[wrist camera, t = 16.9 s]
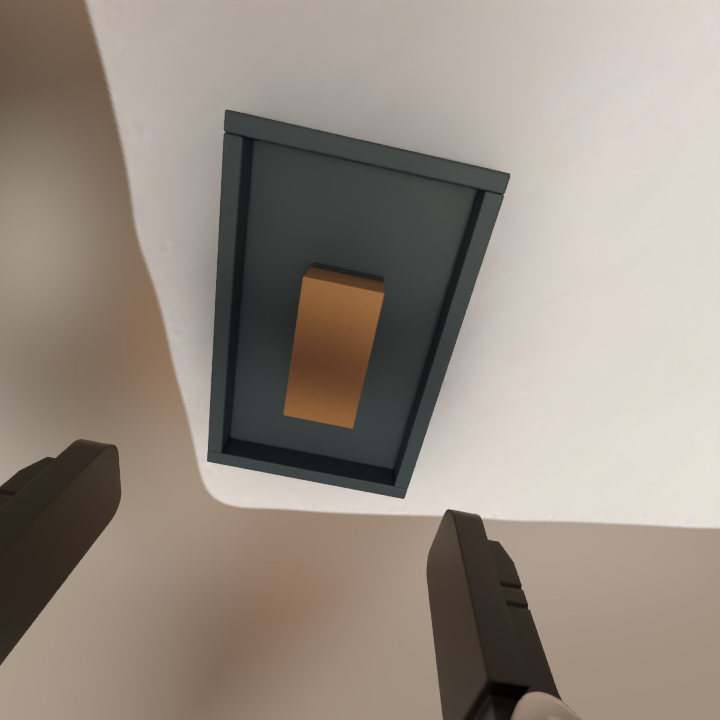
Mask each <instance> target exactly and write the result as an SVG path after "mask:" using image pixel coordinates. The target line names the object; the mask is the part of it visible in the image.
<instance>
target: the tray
mask: <svg viewBox="0 0 720 720" xmlns="http://www.w3.org/2000/svg"><path fill="white" fill-rule="evenodd" d="M224 131H225V132H226V133H224V140H223V160H222V180H221V200H220V220H219V239H218V259H217V279H216V299H215V319H214V339H213V359H212V379H211V399H210V419H209V438H208V456H207V461H208V462H213V463H218V464H223V465H228V466H234V467H239V468H244V469H249V470H255V471H260V472H265V473H270V474H276V475H281V476H286V477H291V478H297V479H302V480H307V481H312V482H318V483H323V484H328V485H333V486H339V487H344V488H349V489H354V490H360V491H365V492H370V493H375V494H381V495H386V496H391V497H396V498H402V499H404V498H405V495H406V492H407V488H408V486H409V483H410V480H411V477H412V474H413V471H414V468H415V465H416V462H417V459H418V456H419V453H420V449H421V446H422V443H423V440H424V437H425V434H426V431H427V428H428V425H429V422H430V419H431V416H432V413H433V410H434V407H435V404H436V401H437V398H438V395H439V392H440V389H441V386H442V383H443V380H444V377H445V374H446V371H447V368H448V364H449V361H450V358H451V355H452V352H453V349H454V346H455V343H456V340H457V337H458V334H459V331H460V328H461V325H462V322H463V319H464V316H465V313H466V310H467V307H468V304H469V301H470V298H471V295H472V292H473V289H474V286H475V282H476V279H477V276H478V273H479V270H480V267H481V264H482V261H483V258H484V255H485V252H486V249H487V246H488V243H489V240H490V237H491V234H492V231H493V228H494V225H495V222H496V219H497V216H498V213H499V210H500V207H501V204H502V200H503V197H504V195H502V194H504V193H505V191H506V188H507V185H508V182H509V179H510V174H509V173H505V172H500V171H496V170H492V169H487V168H483V167H478V166H474V165H470V164H465V163H461V162H456V161H452V160H447V159H443V158H439V157H434V156H430V155H425V154H421V153H417V152H412V151H408V150H403V149H399V148H395V147H390V146H386V145H381V144H377V143H373V142H368V141H364V140H359V139H355V138H350V137H346V136H342V135H337V134H333V133H328V132H324V131H320V130H315V129H311V128H306V127H302V126H298V125H293V124H289V123H284V122H280V121H276V120H271V119H267V118H262V117H258V116H254V115H249V114H245V113H240V112H236V111H231V110H225V120H224ZM314 262H315V263H320V264H325V265H329V266H334V267H339V268H343V269H348V270H353V271H357V272H362V273H367V274H372V275H376V276H381V277H384V294H385V295H384V299H383V303H382V307H381V312H380V316H379V320H378V324H377V329H376V333H375V337H374V342H373V346H372V350H371V354H370V359H369V363H368V367H367V371H366V376H365V380H364V384H363V389H362V393H361V397H360V401H359V406H358V410H357V414H356V418H355V423H354V427H353V428H347V427H342V426H337V425H332V424H326V423H321V422H316V421H311V420H306V419H301V418H296V417H291V416H286V415H284V414H283V413H284V406H285V399H286V392H287V385H288V378H289V370H290V363H291V356H292V349H293V342H294V335H295V328H296V321H297V314H298V307H299V300H300V293H301V286H302V279H303V276H304V275H305V273H306V272H307V271H308V270H309V268H310V267H311V266H312V264H313V263H314Z"/></svg>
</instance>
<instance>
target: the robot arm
mask: <svg viewBox="0 0 720 720" xmlns="http://www.w3.org/2000/svg"><path fill="white" fill-rule="evenodd" d="M120 499H121V483H120V469H119V456H118V450H117V447H116V446H115V445H111V444H105V443H100V442H94V441H89V440H84V439H79V440H77V441H75V442H73V443H72V444H71V445H70V446H69V447H68V448H67V449H66V450H64V451H63V452H62V453H61V454H60V455H59V456H58V457H57V458H51V457H46V458H44V459H42V460H40V461H38V462H36V463H34V464H32V465H30V466H28V467H26V468H24V469H22V470H20V471H18V472H17V473H16V474H15V475H14V476H12V478H10V479H9V480H8V481H7V482H5V483H4V484H3V485H2V486H1V487H0V665H1V664H2V662H3V661H4V660H5V658H6V657H7V656H8V655H9V653H10V652H11V651H12V649H13V648H14V647H15V645H16V644H17V643H18V642H19V640H20V639H21V638H22V636H23V635H24V633H25V632H26V631H27V630H28V628H29V627H30V626H31V625H32V623H33V622H34V620H35V619H36V618H37V617H38V615H39V614H40V613H41V611H42V610H43V609H44V608H45V606H46V605H47V603H48V602H49V601H50V600H51V598H52V597H53V596H54V594H55V593H56V592H57V590H58V589H59V588H60V587H61V585H62V584H63V583H64V581H65V580H66V579H67V577H68V576H69V575H70V573H71V572H72V571H73V569H74V568H75V567H76V565H77V564H78V563H79V562H80V560H81V559H82V558H83V556H84V555H85V554H86V553H87V551H88V550H89V549H90V547H91V546H92V545H93V543H94V542H95V541H96V539H97V538H98V537H99V536H100V534H101V533H102V532H103V530H104V529H105V528H106V526H107V525H108V524H109V522H110V521H111V520H112V518H113V516H114V515H115V513H116V511H117V509H118V506H119V503H120ZM427 584H428V592H429V601H430V610H431V618H432V627H433V636H434V645H435V654H436V663H437V671H438V680H439V688H440V698H441V706H442V715H443V720H581V719H580V718H579V717H578V716H577V714H576V713H575V712H574V711H573V710H572V709H571V708H570V707H569V706H568V705H566V704H565V703H564V702H563V701H562V700H561V698H560V696H559V693H558V691H557V688H556V685H555V683H554V680H553V677H552V674H551V671H550V668H549V665H548V662H547V659H546V656H545V653H544V650H543V647H542V644H541V641H540V638H539V635H538V632H537V629H536V626H535V624H534V621H533V618H532V615H531V612H530V610H528V603H527V600H526V597H525V594H524V591H523V590H522V589H521V586H522V585H521V583H520V579H519V576H518V574H517V571H516V568H515V565H514V562H513V561H512V559H511V558H510V557H509V555H508V554H507V552H506V551H505V550H504V548H503V547H502V546H501V544H500V543H499V542H497V541H492V540H488V539H487V536H486V532H485V529H484V525H483V522H482V519H481V517H480V516H479V515H477V514H471V513H466V512H461V511H455V510H450V509H448V510H447V511H446V512H445V514H444V516H443V519H442V521H441V524H440V526H439V529H438V531H437V534H436V536H435V539H434V541H433V543H432V546H431V548H430V551H429V555H428V560H427Z"/></svg>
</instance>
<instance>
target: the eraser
mask: <svg viewBox="0 0 720 720" xmlns="http://www.w3.org/2000/svg"><path fill="white" fill-rule="evenodd" d="M384 295H385V294H384V277H381V276H376V275H372V274H367V273H362V272H357V271H353V270H348V269H343V268H339V267H334V266H329V265H325V264H320V263H315V262H314V263H313V264H312V266H311V267H310V268H309V270H308V271H307V272H306V273H305V275H304V276H303V279H302V286H301V293H300V300H299V307H298V314H297V321H296V328H295V335H294V342H293V349H292V356H291V363H290V370H289V378H288V385H287V392H286V399H285V406H284V413H283V414H284V415H286V416H291V417H296V418H301V419H306V420H311V421H316V422H321V423H326V424H332V425H337V426H342V427H347V428H353V427H354V423H355V418H356V414H357V410H358V406H359V401H360V397H361V393H362V389H363V384H364V380H365V376H366V371H367V367H368V363H369V359H370V354H371V350H372V346H373V342H374V337H375V333H376V329H377V324H378V320H379V316H380V312H381V307H382V303H383V299H384Z"/></svg>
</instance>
